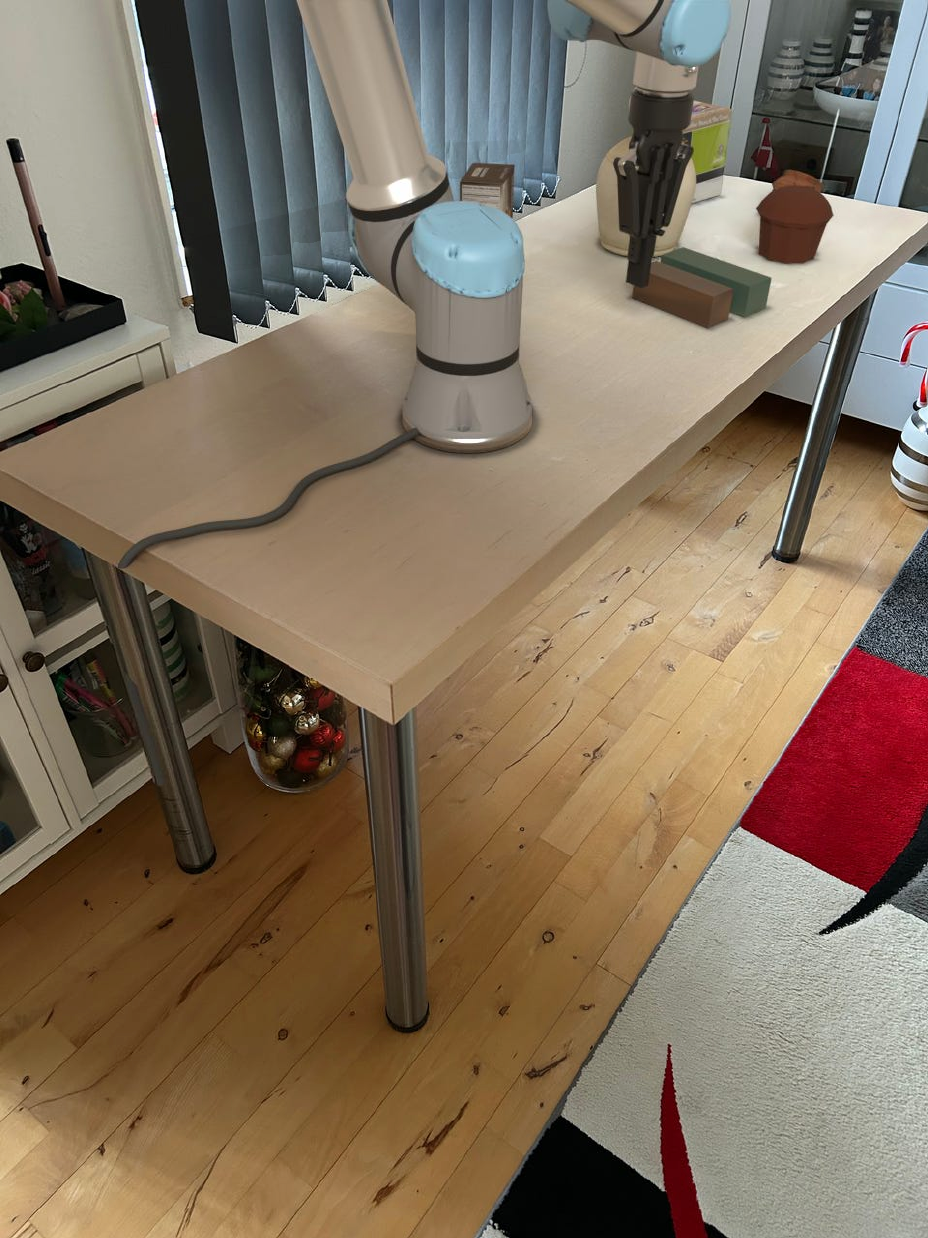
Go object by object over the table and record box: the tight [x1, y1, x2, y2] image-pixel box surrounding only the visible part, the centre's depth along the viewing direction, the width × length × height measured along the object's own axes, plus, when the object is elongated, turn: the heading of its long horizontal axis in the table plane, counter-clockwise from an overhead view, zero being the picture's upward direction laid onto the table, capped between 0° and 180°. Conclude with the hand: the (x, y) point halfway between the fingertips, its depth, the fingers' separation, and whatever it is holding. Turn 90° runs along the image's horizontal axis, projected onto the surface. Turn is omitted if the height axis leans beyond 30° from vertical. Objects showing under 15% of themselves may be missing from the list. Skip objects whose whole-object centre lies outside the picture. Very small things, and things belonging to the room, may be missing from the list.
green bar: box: [660, 246, 773, 318], centre depth 146 cm, size 5×16×4 cm, turn 41°
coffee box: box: [459, 162, 516, 220], centre depth 146 cm, size 9×6×16 cm
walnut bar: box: [631, 260, 733, 329], centre depth 143 cm, size 4×14×4 cm, turn 41°
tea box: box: [631, 100, 733, 204], centre depth 178 cm, size 15×10×15 cm
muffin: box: [755, 185, 834, 265], centre depth 158 cm, size 12×11×10 cm
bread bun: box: [771, 169, 825, 194], centre depth 173 cm, size 12×10×8 cm
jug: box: [595, 86, 696, 258], centre depth 156 cm, size 15×16×25 cm
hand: (636, 283), depth 135 cm, fingers closed
